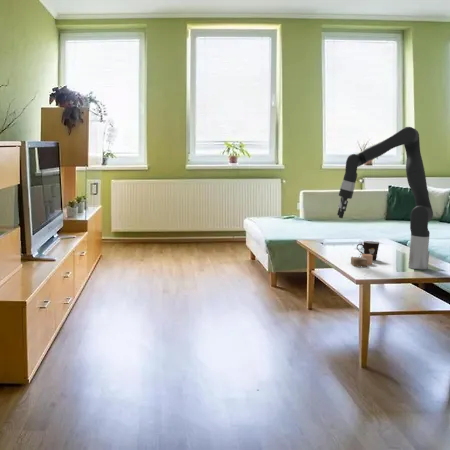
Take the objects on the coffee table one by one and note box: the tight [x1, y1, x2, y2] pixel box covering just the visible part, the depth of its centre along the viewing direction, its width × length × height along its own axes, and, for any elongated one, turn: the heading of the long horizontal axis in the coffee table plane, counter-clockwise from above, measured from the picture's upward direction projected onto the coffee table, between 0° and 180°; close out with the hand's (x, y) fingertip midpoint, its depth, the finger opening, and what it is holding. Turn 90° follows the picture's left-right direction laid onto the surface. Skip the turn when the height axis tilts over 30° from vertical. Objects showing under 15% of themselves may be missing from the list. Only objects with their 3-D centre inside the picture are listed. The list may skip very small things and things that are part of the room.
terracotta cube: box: [361, 253, 373, 266], centre depth 302 cm, size 5×5×5 cm
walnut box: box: [350, 256, 368, 268], centre depth 296 cm, size 7×7×4 cm
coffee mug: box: [356, 240, 380, 262], centre depth 316 cm, size 12×9×10 cm
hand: (339, 216), depth 315 cm, fingers open, 8 cm apart
